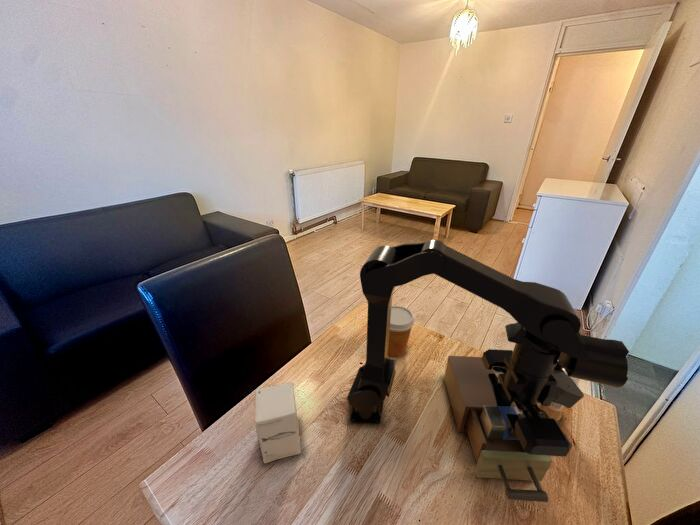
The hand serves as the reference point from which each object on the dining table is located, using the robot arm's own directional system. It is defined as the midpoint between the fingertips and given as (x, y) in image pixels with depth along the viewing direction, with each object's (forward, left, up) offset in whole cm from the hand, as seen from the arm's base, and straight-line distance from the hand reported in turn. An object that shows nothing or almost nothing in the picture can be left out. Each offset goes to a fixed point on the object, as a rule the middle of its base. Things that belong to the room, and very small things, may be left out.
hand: (507, 425), depth 52 cm
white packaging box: (-43, 0, -9) cm, 44 cm away
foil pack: (0, 0, -1) cm, 1 cm away
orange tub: (-18, +28, -9) cm, 34 cm away
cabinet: (0, +11, -8) cm, 14 cm away
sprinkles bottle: (+15, +10, -9) cm, 20 cm away
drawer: (0, -1, -8) cm, 8 cm away
